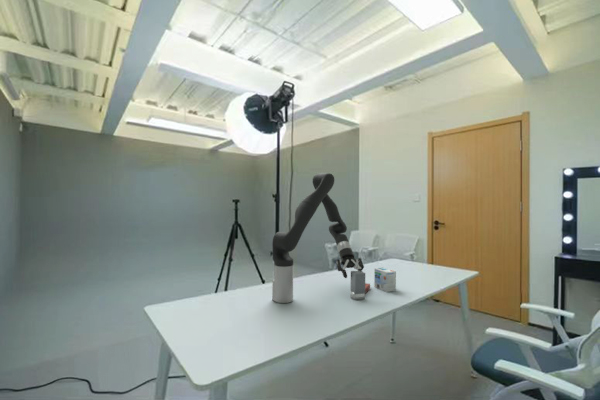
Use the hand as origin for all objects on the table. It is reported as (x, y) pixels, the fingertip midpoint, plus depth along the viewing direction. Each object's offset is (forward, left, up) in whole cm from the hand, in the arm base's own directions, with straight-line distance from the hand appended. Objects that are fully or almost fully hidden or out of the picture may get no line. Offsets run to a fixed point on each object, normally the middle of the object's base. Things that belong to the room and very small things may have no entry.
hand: (353, 276), depth 148 cm
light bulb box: (+12, +19, -10) cm, 25 cm away
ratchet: (+3, +4, -9) cm, 11 cm away
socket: (+3, -4, -6) cm, 8 cm away
